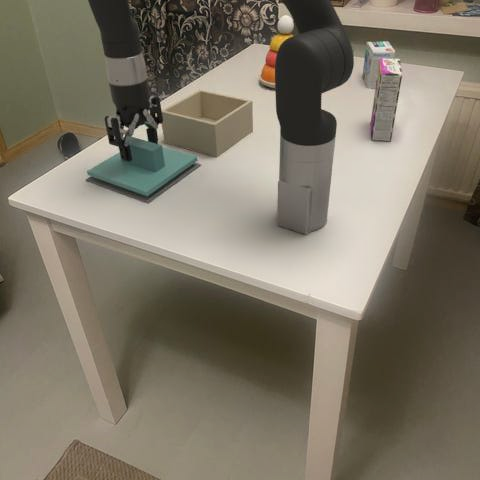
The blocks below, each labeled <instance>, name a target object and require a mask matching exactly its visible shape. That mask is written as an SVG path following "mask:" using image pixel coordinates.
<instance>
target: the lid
mask: <svg viewBox="0 0 480 480" xmlns="http://www.w3.org/2000/svg"><path fill="white" fill-rule="evenodd" d="M124 137H125V136H123V140H124ZM129 145H130V150H131V155H132V161H130V162H127V161H124V160H123V159H122V158H121V156H120V151H118V152H117V153H115V154H113V155H112V156H111V157H109V158H107V159H105V160H104V161H102V162H100V163H98V164H97V165H95V166H93V167H92V168H90V169H88V170H87V171H86V172H87V176H89V177H94V178H97V179H100V180H103V181H106V182H108V183H111V184H114V185H117V186H120V187H123V188H125V189H128V190H131V191H134V192H137V193H140V194H142V195H145V196H148V195H150V194H151V193H153V192H154V191H156V190H157V189H158V188H160V187H161V186H163V185H164V184H165V183H167V182H168V181H170V180H171V179H172V178H174V177H175V176H177V175H178V174H180V173H181V172H182V171H184V170H185V169H187V168H188V167H189V166H191V165H192V164H194V163H197V162H198V161H199V160H198V156H196V155H194V154H193V155H192V154H190V153H186V152H183V151H179V150H176V149H172V148H168V147H165V146H163V145H162V144H159V143H158V144H156V143H152V142H149V141H148V140H144V139H142V138H137V137H135V136H131V137H130V141H129Z"/></svg>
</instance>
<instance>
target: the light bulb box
mask: <svg viewBox="0 0 480 480" xmlns="http://www.w3.org/2000/svg"><path fill="white" fill-rule="evenodd" d="M365 46H366V47H365V52H364V60H363V66H362V67H363V68H362V74H361V77H362V79H363V81H364V84H365V86H366V88H367V89H375V87H376V80H377V72H378V65H379V59H380V58H386V59H387V58H392V59H395V57H396V51H395V49H394V48H393V46H392V45H391V43H390V42H389V41H387V40H386V41H366V44H365Z"/></svg>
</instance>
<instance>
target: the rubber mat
mask: <svg viewBox="0 0 480 480" xmlns="http://www.w3.org/2000/svg"><path fill="white" fill-rule="evenodd" d="M201 166H202V163H198V162H195V163H194V164H192V165H191V166H189V167H188V168H187V169H185V170H184V171H182V172H181V173H180V174H178V175H177V176H175V177H174V178H172V179H171V180H170V181H168V182H167V183H165V184H164V185H163V186H161V187H160V188H158V189H157V190H156V191H154V192H153V193H151V194H150V195H148V196H145V195H142V194H140V193H137V192H134V191H131V190H128V189H125V188H123V187H120V186H117V185H114V184H111V183H108V182H106V181H103V180H100V179H97V178H94V177H91V176H89V177H87V178H86V179H85V181H86V182H89V183H91V184H94V185H97V186H100V187H103V188H105V189H106V190H110V191H112V192H117V193H119V194H121V195H124V196H127V197H129V198H132V199H135V200H138V201H140V202H144V203H146V204H150V203H152V201H154V200H155V199H156V198H158V197H159V196H161V195H162V194H163V193H165V192H166V191H168V190H169V189H171V188H172V187H173V186H175V185H176V184H177V183H179V182H180V181H182V180H183V179H184V178H186V177H187V176H188V175H190V174H191V173H193V172H194V171H195V170H197V169H198V168H200V167H201Z"/></svg>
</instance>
